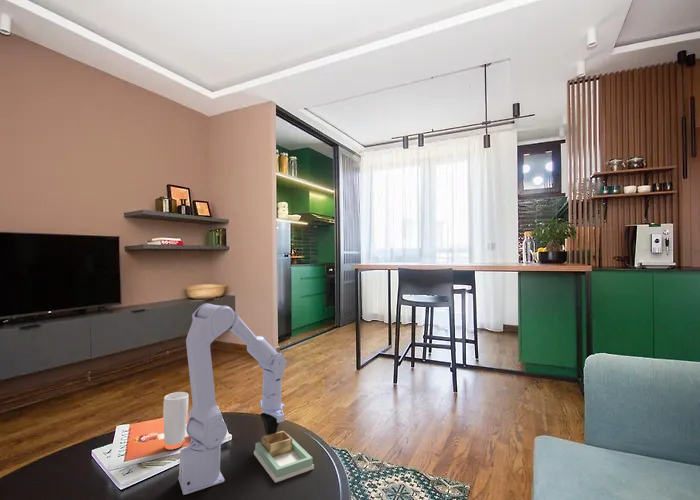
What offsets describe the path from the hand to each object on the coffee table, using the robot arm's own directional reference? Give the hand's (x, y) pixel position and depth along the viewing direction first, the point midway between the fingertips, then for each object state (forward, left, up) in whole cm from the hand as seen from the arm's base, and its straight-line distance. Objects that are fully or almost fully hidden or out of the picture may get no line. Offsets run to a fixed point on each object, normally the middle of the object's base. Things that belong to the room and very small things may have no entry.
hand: (270, 438), depth 103 cm
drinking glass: (-24, +16, -3) cm, 29 cm away
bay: (0, -9, -3) cm, 9 cm away
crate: (0, -5, -2) cm, 5 cm away
